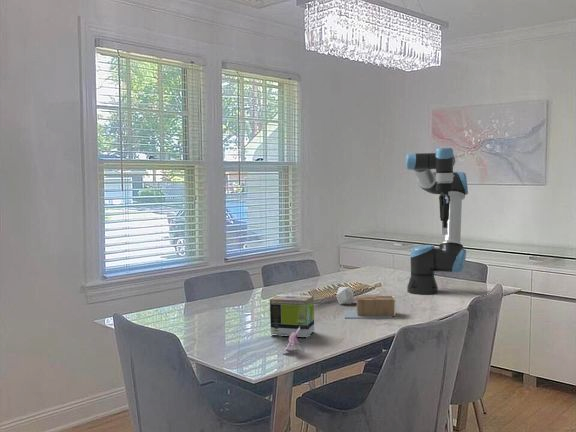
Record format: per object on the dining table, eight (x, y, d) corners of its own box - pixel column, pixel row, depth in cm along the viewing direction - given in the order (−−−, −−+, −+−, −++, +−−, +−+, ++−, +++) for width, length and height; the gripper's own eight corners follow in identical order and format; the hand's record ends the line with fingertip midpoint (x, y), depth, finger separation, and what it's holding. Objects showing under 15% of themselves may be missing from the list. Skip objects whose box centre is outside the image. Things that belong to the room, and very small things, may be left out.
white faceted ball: (348, 308, 274) (358, 290, 276) (332, 298, 275) (342, 280, 278) (347, 310, 282) (356, 292, 284) (331, 301, 283) (341, 283, 285)
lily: (294, 347, 218) (282, 327, 217) (318, 339, 213) (306, 319, 211) (283, 365, 209) (270, 345, 208) (307, 357, 204) (294, 336, 202)
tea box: (314, 332, 234) (314, 294, 233) (307, 339, 225) (306, 300, 223) (278, 329, 239) (278, 293, 238) (270, 336, 230) (269, 298, 228)
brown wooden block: (393, 311, 261) (356, 311, 262) (393, 295, 261) (356, 296, 262) (395, 315, 254) (357, 315, 255) (395, 299, 254) (357, 299, 255)
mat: (343, 311, 265) (343, 310, 265) (389, 311, 264) (389, 310, 264) (344, 318, 253) (344, 317, 253) (392, 318, 252) (392, 317, 252)
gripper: (456, 182, 261) (456, 236, 263) (449, 181, 274) (449, 233, 276) (438, 183, 261) (438, 236, 263) (433, 182, 274) (433, 233, 276)
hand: (444, 234), depth 270 cm, fingers closed
